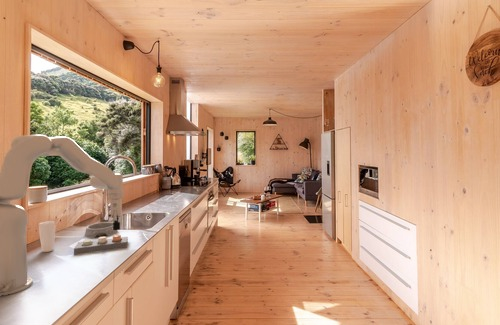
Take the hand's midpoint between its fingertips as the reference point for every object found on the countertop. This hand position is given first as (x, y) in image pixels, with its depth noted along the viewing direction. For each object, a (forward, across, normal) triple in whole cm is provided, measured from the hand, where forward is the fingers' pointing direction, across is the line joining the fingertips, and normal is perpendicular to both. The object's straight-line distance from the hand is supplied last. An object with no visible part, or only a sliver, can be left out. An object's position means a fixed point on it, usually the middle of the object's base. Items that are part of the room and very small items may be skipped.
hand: (116, 229), depth 144 cm
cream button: (+7, 0, +7) cm, 10 cm away
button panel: (+9, 0, +7) cm, 11 cm away
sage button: (+8, 0, +14) cm, 16 cm away
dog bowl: (+10, +31, +12) cm, 34 cm away
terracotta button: (+7, 0, 0) cm, 7 cm away
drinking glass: (+9, +7, +33) cm, 35 cm away
